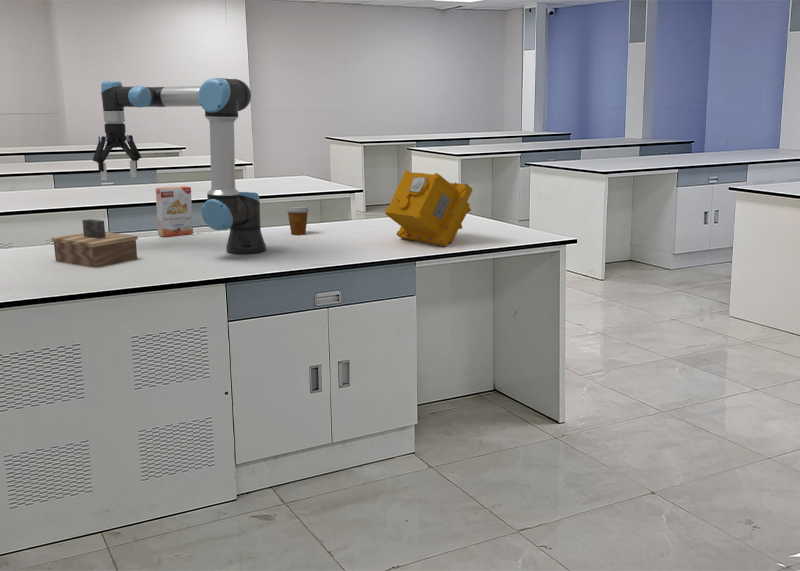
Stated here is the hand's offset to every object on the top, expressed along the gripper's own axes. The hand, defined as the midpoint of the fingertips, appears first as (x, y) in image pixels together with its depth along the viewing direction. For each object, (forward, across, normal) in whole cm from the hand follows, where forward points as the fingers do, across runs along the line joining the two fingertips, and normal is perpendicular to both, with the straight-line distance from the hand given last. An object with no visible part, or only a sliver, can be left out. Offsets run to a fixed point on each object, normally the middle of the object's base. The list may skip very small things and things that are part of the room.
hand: (119, 178), depth 302 cm
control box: (+28, -80, +93) cm, 125 cm away
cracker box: (+28, -33, -9) cm, 44 cm away
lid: (+20, +23, +14) cm, 34 cm away
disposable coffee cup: (+28, -65, +34) cm, 78 cm away
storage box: (+28, +23, +14) cm, 39 cm away
